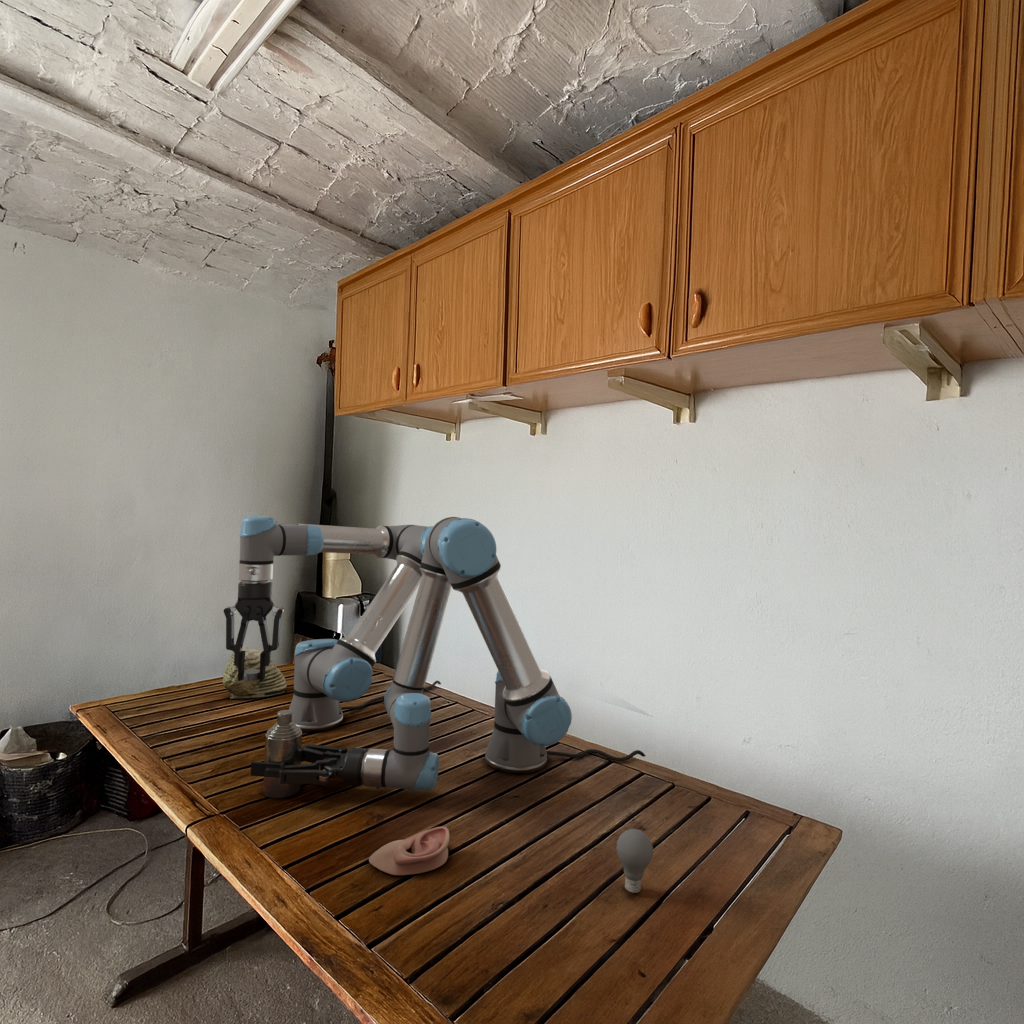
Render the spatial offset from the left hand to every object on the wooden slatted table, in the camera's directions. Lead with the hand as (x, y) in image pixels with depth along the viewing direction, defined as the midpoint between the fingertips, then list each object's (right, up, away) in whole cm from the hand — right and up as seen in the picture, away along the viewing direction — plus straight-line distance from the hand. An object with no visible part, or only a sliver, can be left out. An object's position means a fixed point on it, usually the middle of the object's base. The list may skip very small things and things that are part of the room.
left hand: (251, 679), depth 151 cm
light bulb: (+82, -24, -45) cm, 97 cm away
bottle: (+12, -20, -15) cm, 28 cm away
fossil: (-19, -18, +48) cm, 54 cm away
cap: (0, +2, 0) cm, 2 cm away
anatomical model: (+44, -22, -38) cm, 62 cm away
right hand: (+8, -14, -14) cm, 21 cm away
